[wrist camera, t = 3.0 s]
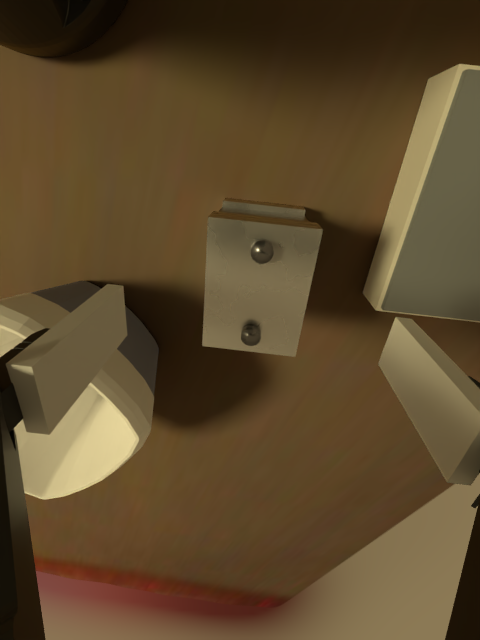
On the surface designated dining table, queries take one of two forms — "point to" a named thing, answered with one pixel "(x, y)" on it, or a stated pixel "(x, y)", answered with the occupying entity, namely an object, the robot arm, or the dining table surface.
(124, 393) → the bowl
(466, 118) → the plinth
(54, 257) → the dining table surface
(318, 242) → the housing
